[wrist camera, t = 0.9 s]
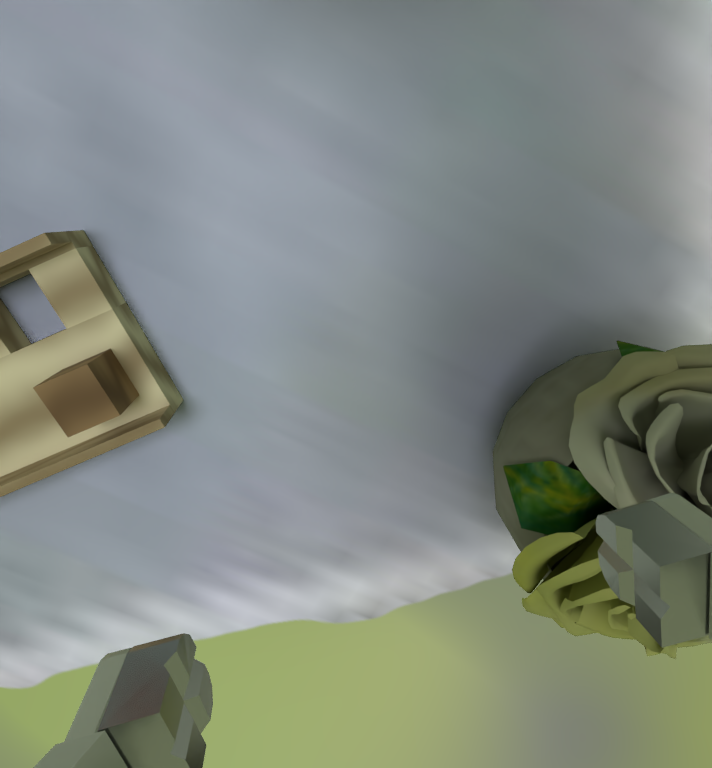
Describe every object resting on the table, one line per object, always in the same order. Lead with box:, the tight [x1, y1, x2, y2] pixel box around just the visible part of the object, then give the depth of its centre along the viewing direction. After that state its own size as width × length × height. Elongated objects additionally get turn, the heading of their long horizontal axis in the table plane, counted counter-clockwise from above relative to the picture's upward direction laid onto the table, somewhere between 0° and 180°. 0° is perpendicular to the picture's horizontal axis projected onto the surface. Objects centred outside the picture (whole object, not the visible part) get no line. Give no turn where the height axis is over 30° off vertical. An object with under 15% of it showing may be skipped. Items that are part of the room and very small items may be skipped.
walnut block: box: [33, 348, 139, 437], centre depth 38 cm, size 4×4×4 cm
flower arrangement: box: [493, 341, 712, 659], centre depth 37 cm, size 25×25×24 cm
